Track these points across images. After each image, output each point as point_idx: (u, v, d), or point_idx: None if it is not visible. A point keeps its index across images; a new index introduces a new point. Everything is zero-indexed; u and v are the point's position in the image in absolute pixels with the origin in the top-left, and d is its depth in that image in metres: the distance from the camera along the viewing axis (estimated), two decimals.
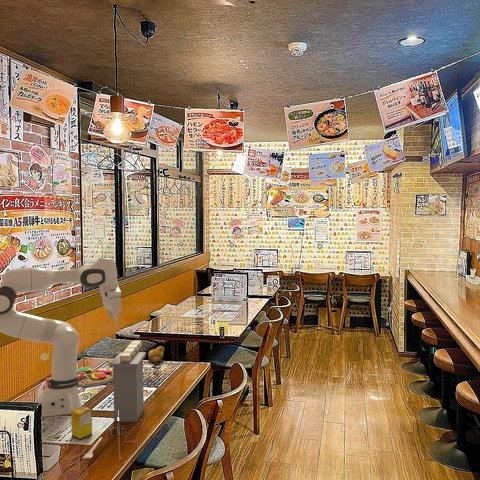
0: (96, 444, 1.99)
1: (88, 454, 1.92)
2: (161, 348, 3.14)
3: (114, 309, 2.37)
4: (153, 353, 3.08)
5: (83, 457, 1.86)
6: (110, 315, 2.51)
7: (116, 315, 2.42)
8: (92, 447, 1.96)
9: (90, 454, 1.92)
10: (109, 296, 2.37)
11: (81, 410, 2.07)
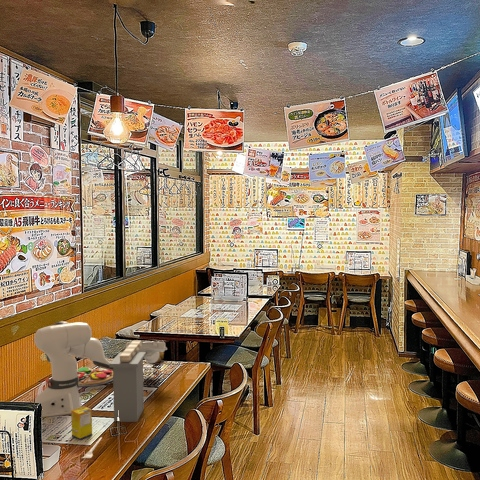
0: (96, 444, 1.99)
1: (88, 454, 1.92)
2: None
3: None
4: None
5: None
6: None
7: None
8: (92, 447, 1.96)
9: (90, 454, 1.92)
10: None
11: (81, 410, 2.07)
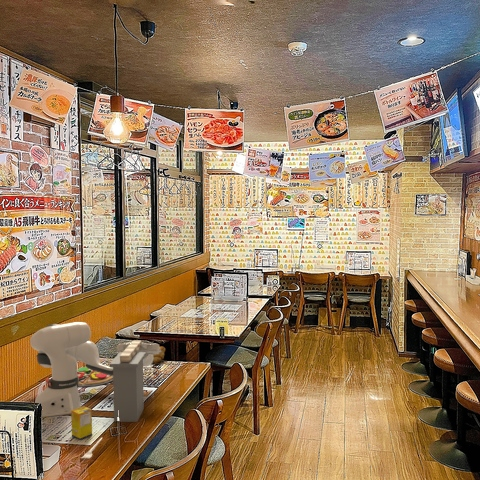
0: (96, 444, 1.99)
1: (87, 454, 1.92)
2: (162, 348, 3.13)
3: None
4: None
5: (82, 457, 1.86)
6: None
7: (128, 345, 2.45)
8: (92, 447, 1.96)
9: (89, 454, 1.92)
10: None
11: (81, 410, 2.07)
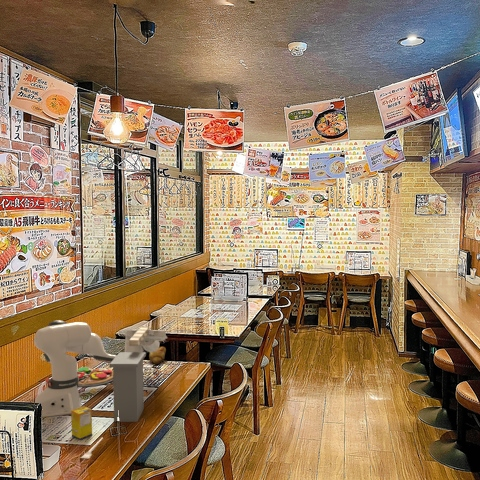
0: (96, 444, 1.99)
1: (87, 454, 1.92)
2: (162, 349, 3.13)
3: None
4: (153, 354, 3.06)
5: (81, 457, 1.87)
6: None
7: (136, 331, 2.58)
8: (92, 447, 1.96)
9: (89, 454, 1.92)
10: None
11: (81, 410, 2.07)
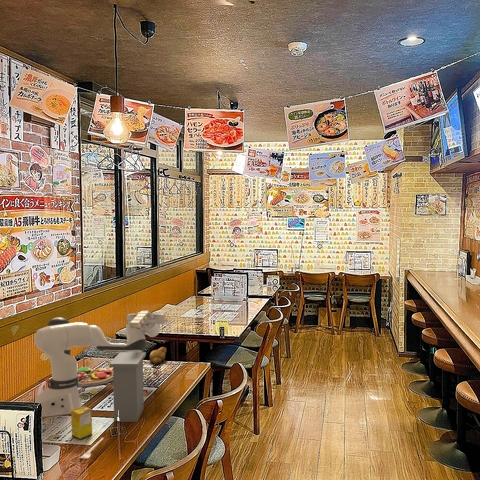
0: (96, 444, 1.99)
1: (86, 454, 1.92)
2: (163, 349, 3.12)
3: None
4: (154, 354, 3.06)
5: (80, 457, 1.87)
6: None
7: None
8: None
9: (88, 454, 1.92)
10: None
11: (81, 410, 2.07)
